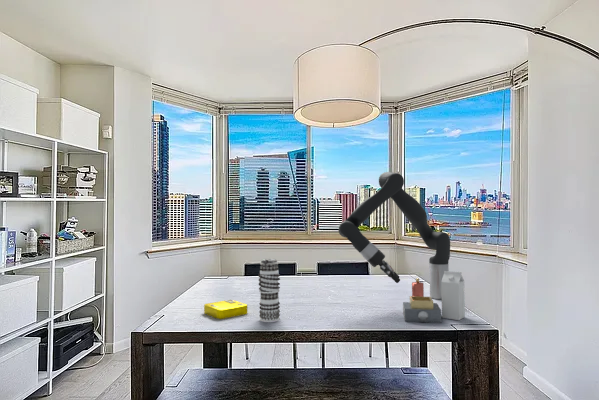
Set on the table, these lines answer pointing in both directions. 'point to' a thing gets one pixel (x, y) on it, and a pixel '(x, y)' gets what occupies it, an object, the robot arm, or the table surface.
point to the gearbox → (421, 310)
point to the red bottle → (417, 288)
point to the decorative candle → (269, 290)
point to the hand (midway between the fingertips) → (398, 280)
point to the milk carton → (453, 295)
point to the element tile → (225, 309)
